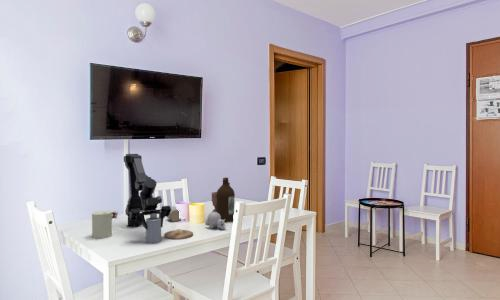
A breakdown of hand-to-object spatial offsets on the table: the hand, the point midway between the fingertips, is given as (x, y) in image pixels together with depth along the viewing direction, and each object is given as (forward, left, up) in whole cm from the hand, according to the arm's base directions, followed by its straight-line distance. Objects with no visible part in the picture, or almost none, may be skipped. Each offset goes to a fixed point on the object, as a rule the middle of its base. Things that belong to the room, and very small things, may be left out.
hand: (154, 228), depth 166 cm
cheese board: (+8, +12, -8) cm, 17 cm away
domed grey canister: (-1, +1, -7) cm, 7 cm away
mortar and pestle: (+21, +65, -7) cm, 69 cm away
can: (-29, +8, -7) cm, 31 cm away
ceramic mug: (-2, +44, -7) cm, 44 cm away
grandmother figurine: (-42, +39, -5) cm, 57 cm away
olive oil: (+27, +45, -7) cm, 53 cm away
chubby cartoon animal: (+25, +27, -7) cm, 37 cm away
